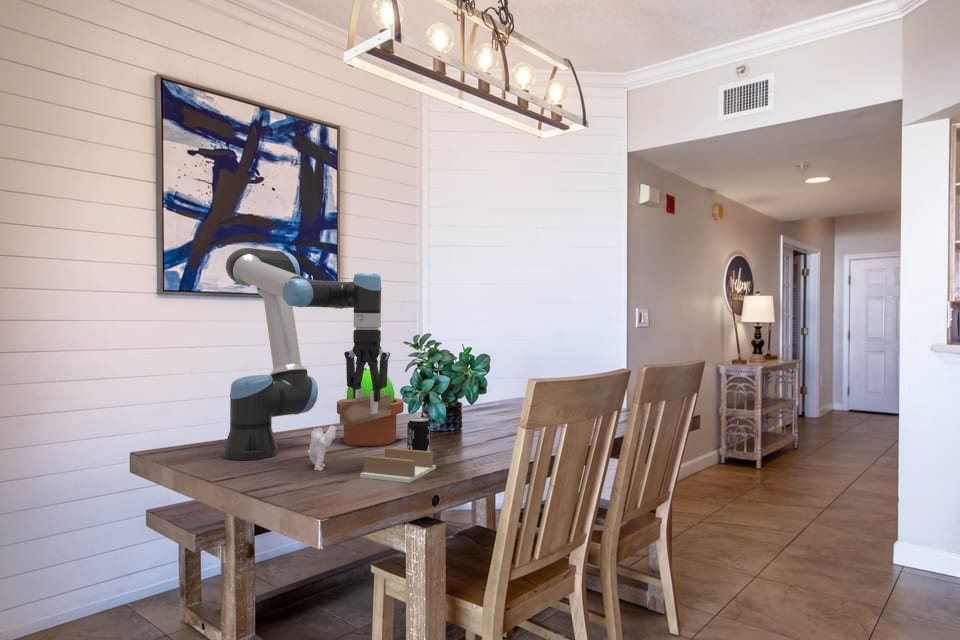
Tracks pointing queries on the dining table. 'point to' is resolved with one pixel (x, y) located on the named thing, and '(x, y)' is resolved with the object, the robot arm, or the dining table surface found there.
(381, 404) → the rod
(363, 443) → the potted cactus
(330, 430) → the figurine
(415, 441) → the beverage can
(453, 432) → the dining table surface
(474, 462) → the dining table surface
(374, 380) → the robot arm
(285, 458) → the dining table surface
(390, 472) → the rest stand
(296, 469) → the dining table surface
